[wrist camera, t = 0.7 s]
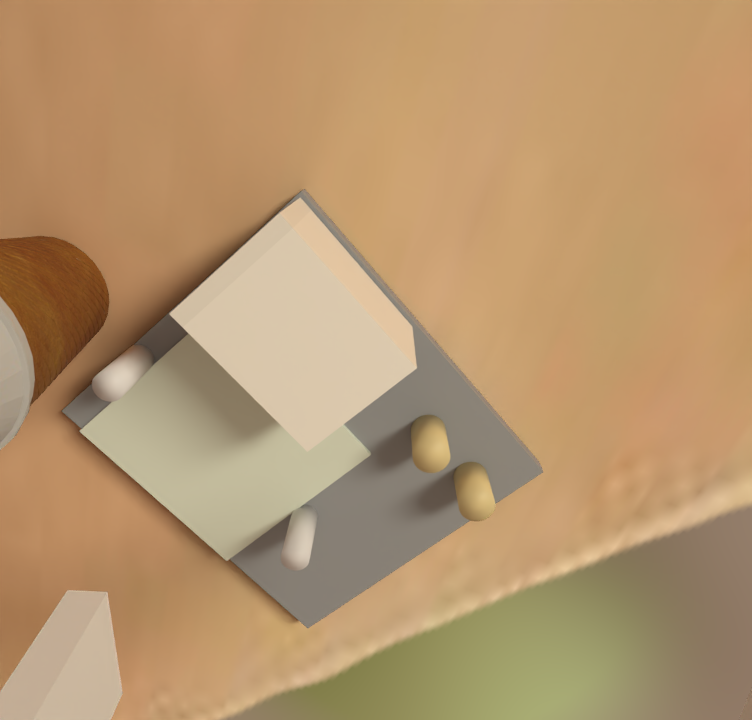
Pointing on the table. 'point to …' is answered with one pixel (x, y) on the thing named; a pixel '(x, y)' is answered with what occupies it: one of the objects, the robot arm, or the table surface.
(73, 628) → the robot arm
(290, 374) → the block
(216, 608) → the table surface
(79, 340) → the disposable coffee cup
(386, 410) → the board
